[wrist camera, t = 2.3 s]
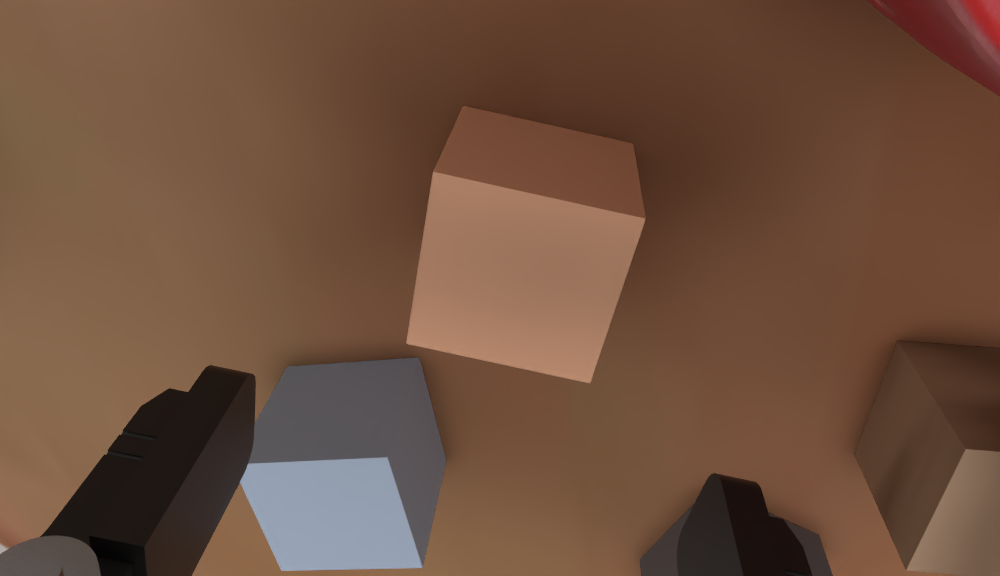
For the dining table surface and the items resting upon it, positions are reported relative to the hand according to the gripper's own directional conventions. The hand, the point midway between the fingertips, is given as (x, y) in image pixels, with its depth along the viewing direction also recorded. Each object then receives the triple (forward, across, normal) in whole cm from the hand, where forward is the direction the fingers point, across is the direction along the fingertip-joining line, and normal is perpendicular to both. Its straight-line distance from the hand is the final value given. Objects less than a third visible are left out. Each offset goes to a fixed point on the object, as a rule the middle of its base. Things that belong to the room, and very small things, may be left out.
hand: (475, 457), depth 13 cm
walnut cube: (+11, -16, +4) cm, 20 cm away
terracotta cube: (+11, 0, 0) cm, 11 cm away
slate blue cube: (+11, +4, +10) cm, 15 cm away
